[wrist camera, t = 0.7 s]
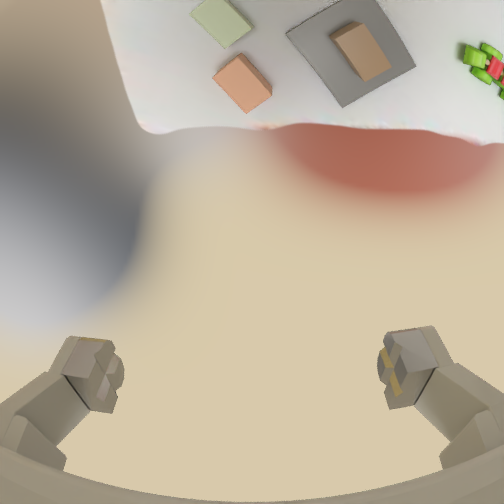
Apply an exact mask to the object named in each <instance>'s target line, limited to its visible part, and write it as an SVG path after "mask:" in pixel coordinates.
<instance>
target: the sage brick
mask: <svg viewBox="0 0 504 504" xmlns="http://www.w3.org/2000/svg"><path fill="white" fill-rule="evenodd" d="M189 15H190V16H191V17H192V18H193V19H194V20H195V21H196V22H198V23H199V24H200V25H201V26H202V27H203V28H204V29H205V30H206V31H207V32H208V33H209V34H210V35H211V36H212V37H213V38H214V39H215V40H216V41H217V42H218V43H219V44H220V45H221V46H222V47H223V48H224V49H226V48H227V47H228V46H230V45H231V44H232V43H234V42H235V41H236V40H237V39H239V38H240V37H241V36H243V35H244V34H245V33H247V32H248V31H250V30H251V29H252V28H254V26H253V25H252V24H251V23H250V22H249V21H248V20H247V19H246V18H245V17H244V16H243V15H242V14H241V13H240V12H239V11H238V10H237V9H236V8H235V7H234V6H233V5H232V4H231V3H230V2H229V1H228V0H205V1H204V2H203V3H202V4H200V5H199V6H198V7H197V8H196V9H194V10H193V11H192V12H191V13H190V14H189Z"/></svg>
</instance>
